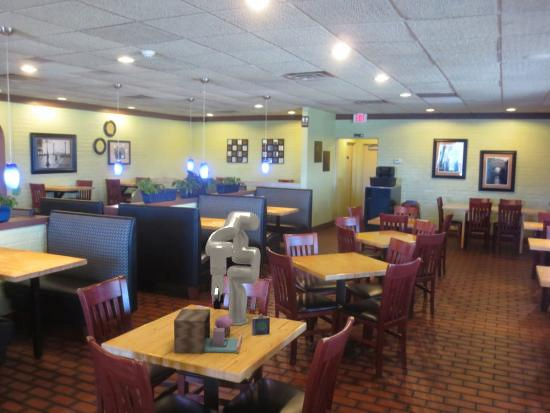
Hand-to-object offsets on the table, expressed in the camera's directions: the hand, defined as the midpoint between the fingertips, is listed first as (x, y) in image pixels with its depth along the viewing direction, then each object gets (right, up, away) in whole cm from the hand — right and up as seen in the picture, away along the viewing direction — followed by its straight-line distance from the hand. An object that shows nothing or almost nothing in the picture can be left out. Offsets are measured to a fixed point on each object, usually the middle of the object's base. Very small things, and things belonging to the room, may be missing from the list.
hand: (218, 306), depth 225 cm
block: (0, -19, +2) cm, 19 cm away
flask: (+20, -19, +18) cm, 33 cm away
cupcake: (+1, -19, +17) cm, 25 cm away
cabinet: (-13, -20, +2) cm, 24 cm away
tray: (+1, -20, +2) cm, 20 cm away
